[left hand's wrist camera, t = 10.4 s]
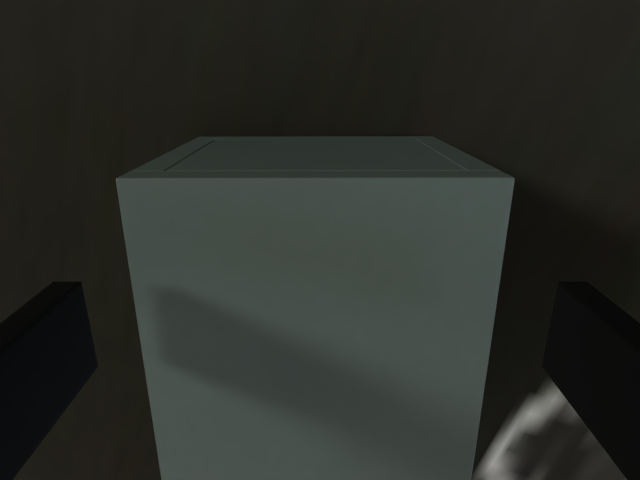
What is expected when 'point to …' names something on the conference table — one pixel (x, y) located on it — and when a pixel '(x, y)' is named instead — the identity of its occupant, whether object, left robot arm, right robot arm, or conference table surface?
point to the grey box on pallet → (315, 304)
